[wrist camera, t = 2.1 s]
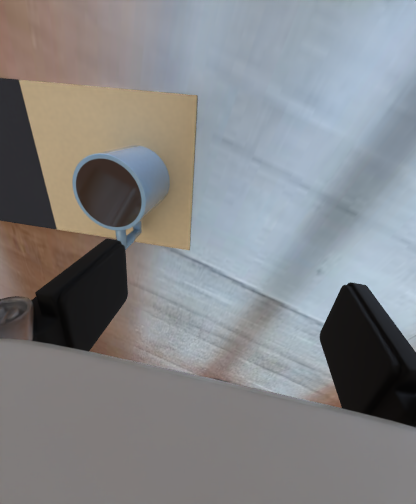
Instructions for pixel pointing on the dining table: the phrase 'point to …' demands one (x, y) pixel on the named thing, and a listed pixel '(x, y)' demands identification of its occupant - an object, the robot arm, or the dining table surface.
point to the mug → (121, 188)
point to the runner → (91, 152)
